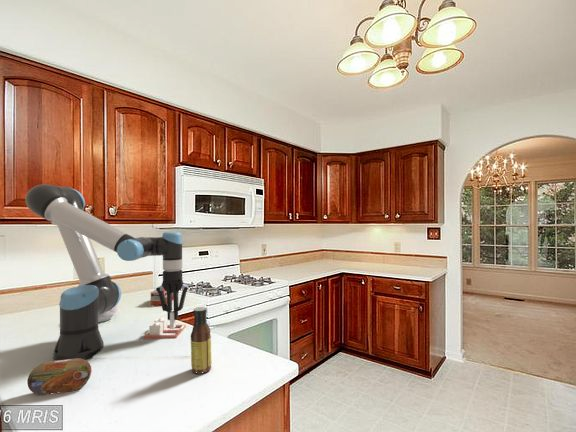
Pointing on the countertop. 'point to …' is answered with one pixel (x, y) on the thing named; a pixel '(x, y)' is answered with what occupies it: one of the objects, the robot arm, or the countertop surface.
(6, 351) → the countertop surface
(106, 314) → the paper bowls
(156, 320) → the white toy block
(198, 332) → the sauce bottle
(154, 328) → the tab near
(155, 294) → the medicine box
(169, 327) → the red compartment tray
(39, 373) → the tin
